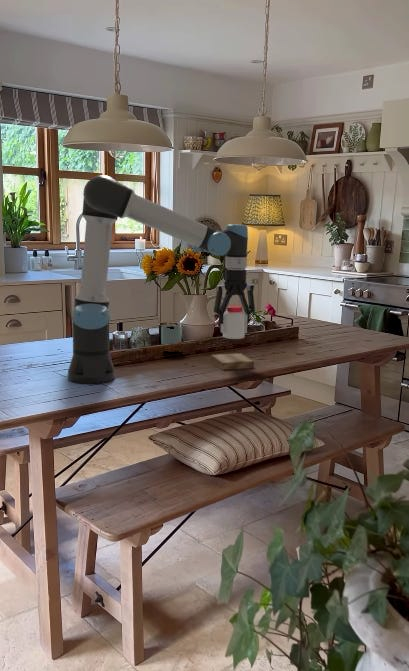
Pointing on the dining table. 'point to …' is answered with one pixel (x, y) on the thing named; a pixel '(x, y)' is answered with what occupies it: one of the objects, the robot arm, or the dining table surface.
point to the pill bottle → (234, 322)
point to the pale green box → (170, 334)
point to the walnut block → (232, 361)
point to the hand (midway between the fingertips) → (233, 332)
